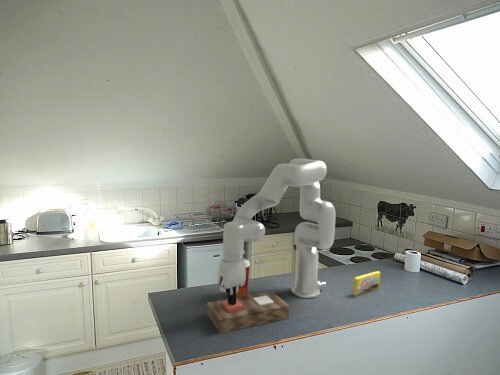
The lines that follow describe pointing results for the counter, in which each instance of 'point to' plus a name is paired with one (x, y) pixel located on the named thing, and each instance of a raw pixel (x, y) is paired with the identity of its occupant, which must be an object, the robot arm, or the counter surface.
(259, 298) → the white key
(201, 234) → the counter surface
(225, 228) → the robot arm
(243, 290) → the coffee cup
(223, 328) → the panel
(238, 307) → the red key
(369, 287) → the candy box
